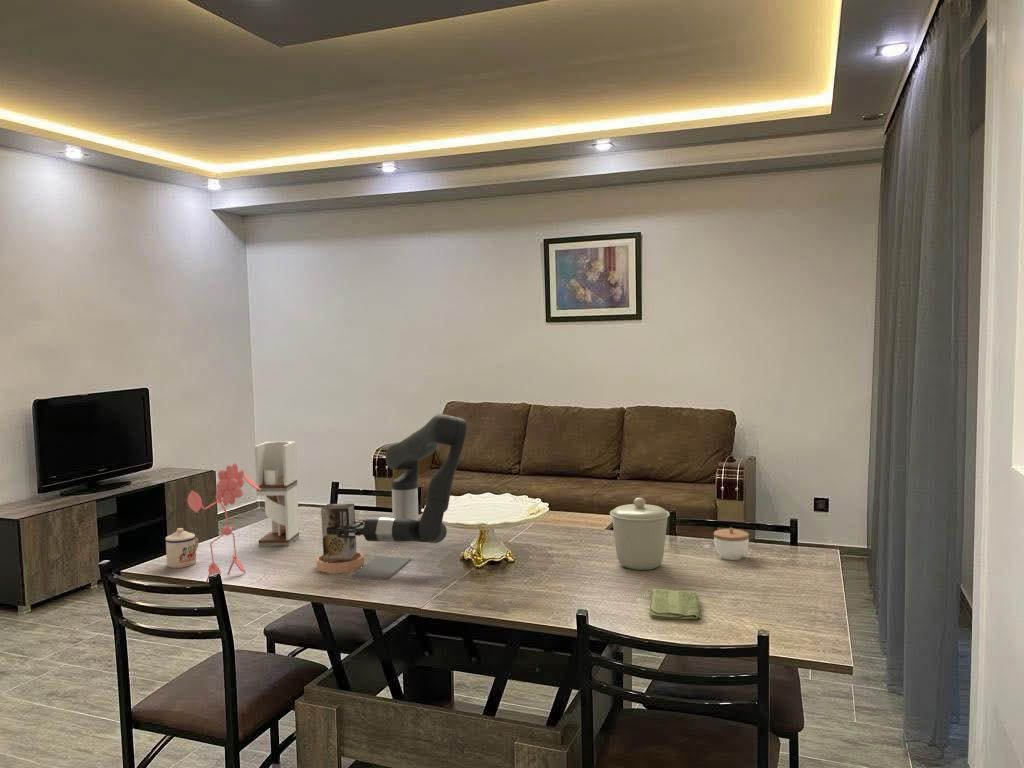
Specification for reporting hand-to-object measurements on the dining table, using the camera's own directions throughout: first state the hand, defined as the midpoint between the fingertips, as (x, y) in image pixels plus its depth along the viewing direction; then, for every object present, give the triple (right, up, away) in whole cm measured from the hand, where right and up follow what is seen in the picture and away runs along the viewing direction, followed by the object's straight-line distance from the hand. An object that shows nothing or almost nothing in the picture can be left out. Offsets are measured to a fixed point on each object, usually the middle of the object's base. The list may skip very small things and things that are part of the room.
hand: (332, 527), depth 244 cm
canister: (+96, -11, -5) cm, 97 cm away
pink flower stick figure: (-26, -14, -12) cm, 32 cm away
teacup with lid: (-49, -13, +7) cm, 51 cm away
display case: (-26, -11, +32) cm, 42 cm away
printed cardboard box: (+2, -9, 0) cm, 10 cm away
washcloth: (+99, -14, -43) cm, 109 cm away
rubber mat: (+16, -12, -3) cm, 20 cm away
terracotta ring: (+2, -12, 0) cm, 12 cm away
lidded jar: (+126, -10, +2) cm, 126 cm away
